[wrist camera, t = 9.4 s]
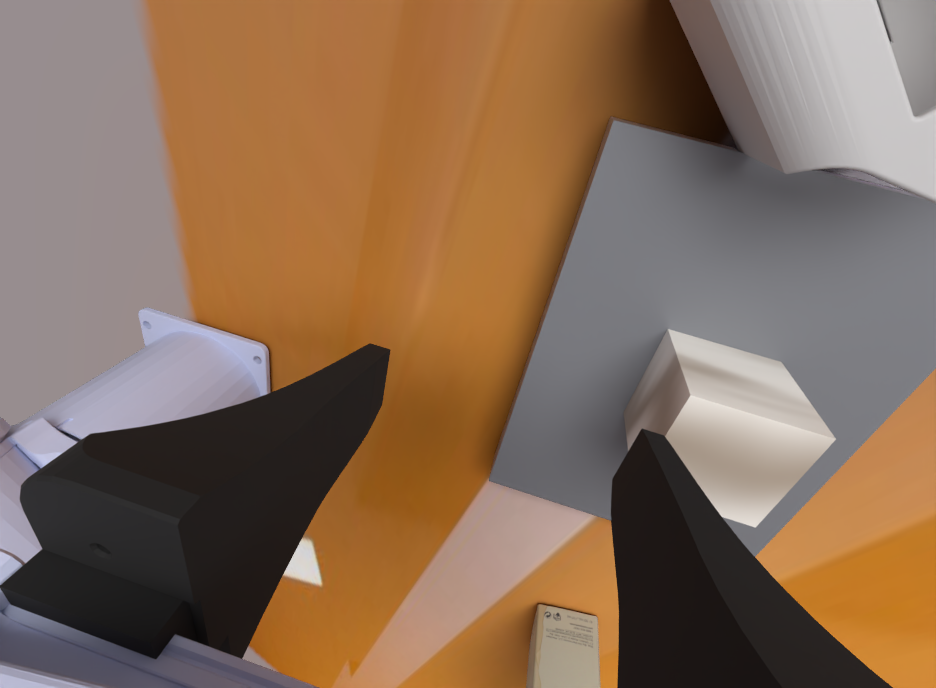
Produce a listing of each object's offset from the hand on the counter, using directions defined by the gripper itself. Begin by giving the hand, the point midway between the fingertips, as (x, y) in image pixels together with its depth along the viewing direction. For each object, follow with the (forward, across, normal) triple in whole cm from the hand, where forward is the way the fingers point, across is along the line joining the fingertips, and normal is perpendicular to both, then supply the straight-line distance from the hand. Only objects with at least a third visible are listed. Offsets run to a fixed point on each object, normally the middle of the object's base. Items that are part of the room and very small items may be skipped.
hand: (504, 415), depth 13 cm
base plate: (+9, -8, +2) cm, 12 cm away
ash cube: (+7, -8, +1) cm, 11 cm away
